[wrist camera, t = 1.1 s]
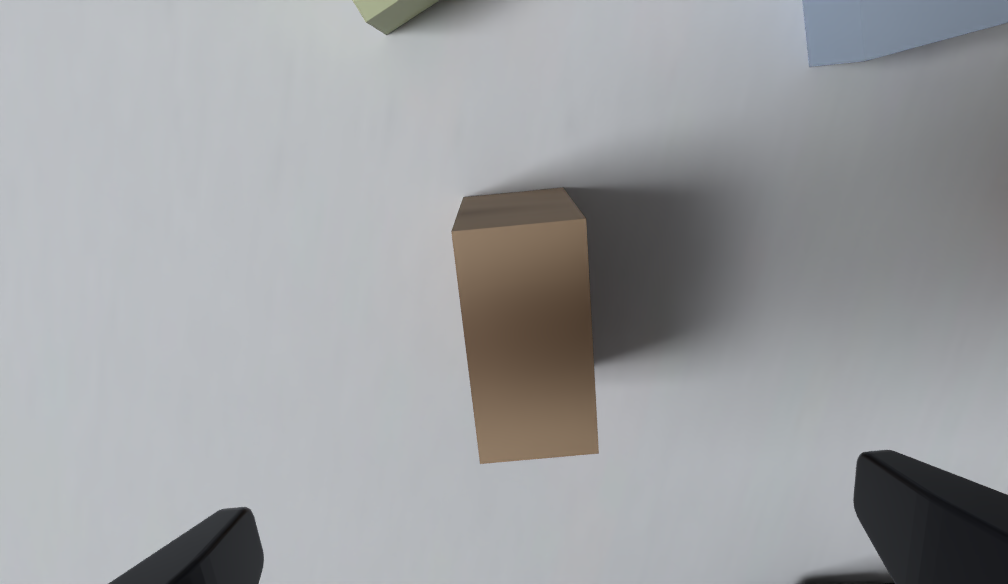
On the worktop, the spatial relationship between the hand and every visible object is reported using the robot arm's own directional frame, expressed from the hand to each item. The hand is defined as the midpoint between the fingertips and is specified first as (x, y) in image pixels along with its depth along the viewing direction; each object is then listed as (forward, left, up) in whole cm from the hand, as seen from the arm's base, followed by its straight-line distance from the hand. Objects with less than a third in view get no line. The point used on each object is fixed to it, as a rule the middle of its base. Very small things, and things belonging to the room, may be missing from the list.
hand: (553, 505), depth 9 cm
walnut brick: (0, 0, -11) cm, 11 cm away
